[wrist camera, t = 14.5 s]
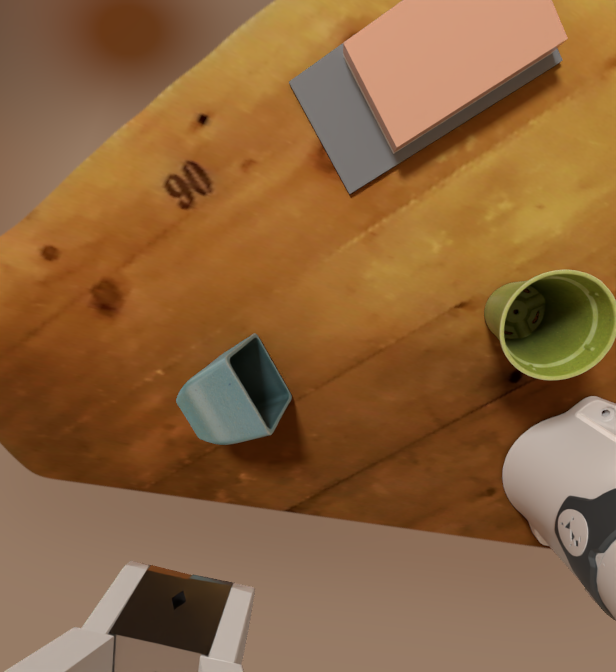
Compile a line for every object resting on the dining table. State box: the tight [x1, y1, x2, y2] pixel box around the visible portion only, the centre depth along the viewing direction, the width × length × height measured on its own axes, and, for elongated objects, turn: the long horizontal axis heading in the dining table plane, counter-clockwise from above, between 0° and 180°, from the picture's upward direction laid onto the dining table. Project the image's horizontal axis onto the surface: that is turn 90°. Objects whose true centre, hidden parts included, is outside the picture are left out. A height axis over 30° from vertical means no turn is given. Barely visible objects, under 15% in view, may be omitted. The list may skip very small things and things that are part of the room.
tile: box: [343, 0, 568, 154], centre depth 33 cm, size 2×10×16 cm
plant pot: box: [484, 270, 616, 380], centre depth 35 cm, size 9×9×9 cm
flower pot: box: [176, 333, 292, 445], centre depth 40 cm, size 9×9×9 cm
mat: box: [289, 13, 562, 194], centre depth 35 cm, size 22×12×1 cm, turn 121°
